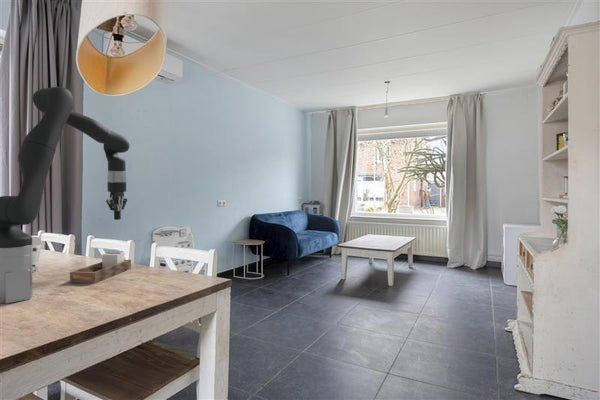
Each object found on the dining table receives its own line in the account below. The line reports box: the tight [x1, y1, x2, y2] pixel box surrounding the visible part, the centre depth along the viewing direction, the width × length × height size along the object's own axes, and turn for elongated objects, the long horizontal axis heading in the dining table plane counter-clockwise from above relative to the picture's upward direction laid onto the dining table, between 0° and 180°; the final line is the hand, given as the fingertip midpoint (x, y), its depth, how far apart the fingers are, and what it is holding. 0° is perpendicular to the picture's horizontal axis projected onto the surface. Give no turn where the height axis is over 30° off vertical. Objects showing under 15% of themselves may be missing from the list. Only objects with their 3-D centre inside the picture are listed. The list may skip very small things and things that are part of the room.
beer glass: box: [30, 235, 42, 273], centre depth 143 cm, size 7×7×15 cm
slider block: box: [101, 251, 125, 268], centre depth 146 cm, size 5×7×6 cm
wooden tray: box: [69, 259, 132, 284], centre depth 139 cm, size 24×10×4 cm, turn 177°
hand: (117, 219), depth 152 cm, fingers closed
